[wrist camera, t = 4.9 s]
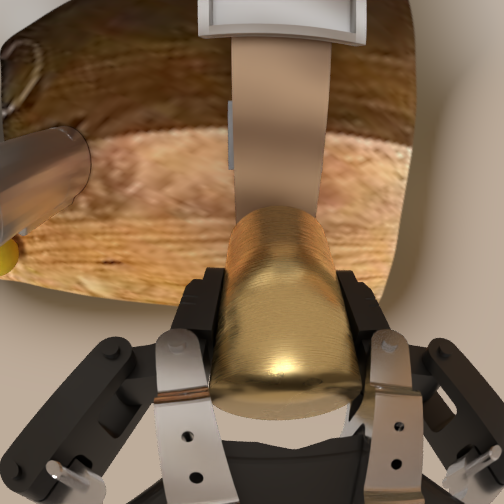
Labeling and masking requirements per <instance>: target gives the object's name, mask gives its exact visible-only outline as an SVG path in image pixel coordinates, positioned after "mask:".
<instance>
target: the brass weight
mask: <svg viewBox="0 0 504 504" xmlns="http://www.w3.org/2000/svg"><path fill="white" fill-rule="evenodd" d="M361 390H362V381H361V376H360V371H359V366H358V361H357V356H356V351H355V346H354V342H353V337H352V333H351V329H350V324H349V320H348V316H347V312H346V308H345V304H344V300H343V296H342V292H341V288H340V285H339V281H338V277H337V274H336V270H335V266H334V263H333V259H332V256H331V253H330V249H329V246H328V243H327V239H326V236H325V233H324V230H323V228H322V227H321V225H320V224H319V222H318V221H317V220H316V219H315V218H314V217H313V216H311V215H310V214H309V213H307V212H305V211H303V210H301V209H298V208H295V207H291V206H283V205H276V206H267V207H264V208H260V209H257V210H255V211H253V212H251V213H249V214H248V215H246V216H245V217H243V218H242V219H241V220H240V221H239V222H238V223H237V225H236V226H235V227H234V229H233V231H232V233H231V236H230V241H229V247H228V253H227V259H226V266H225V272H224V279H223V286H222V293H221V299H220V306H219V313H218V321H217V328H216V335H215V342H214V350H213V357H212V365H211V373H210V381H209V393H210V398H211V402H212V404H213V405H215V406H216V407H217V408H219V409H221V410H223V411H225V412H228V413H231V414H234V415H237V416H241V417H246V418H252V419H261V420H291V419H300V418H307V417H312V416H317V415H321V414H325V413H328V412H331V411H333V410H336V409H339V408H341V407H343V406H345V405H346V404H348V403H350V402H351V401H353V400H354V399H355V398H356V397H357V396H358V395H359V394H360V392H361Z"/></svg>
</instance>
